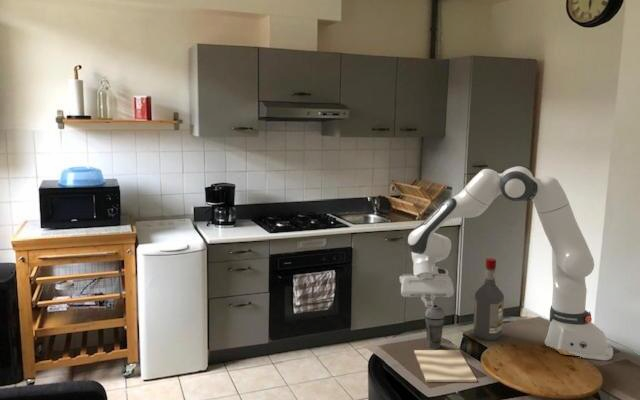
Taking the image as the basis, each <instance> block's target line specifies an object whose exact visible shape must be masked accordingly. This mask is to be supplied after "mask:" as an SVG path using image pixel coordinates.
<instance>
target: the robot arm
mask: <svg viewBox="0 0 640 400" xmlns="http://www.w3.org/2000/svg"><path fill="white" fill-rule="evenodd" d="M499 195H502V196H503V197H504V198H505V199H507V200H509V201H513V202H523V201H524V202H525V201H527V202H528V201H531V202H532V204H533V205H534V207H535V211H536V213H537V216H538V218H539V221H540V223H541V227H542V229H543V231H544V234H545V236H546V238H547V240H548V242H549V244H550V246H551V266H552V267H551V271H552V273H551V274H552V299H551V306H550V309H549V327H548V332H547V335H546V337H545V340H544V344H545V345H546V346H547V347H548V346H550V347H554V348H556V349H561V350H564V351H567V352H569V353H572V354H575V355H577V356H580V357H579V358H581V357H582V358H583V359H589V360H591V359H592V360H599V361H609V360H611V359H612V358H613V356H614V349H613V347H612V346H611V345H610V344H608V343H607V342H608V341H607V336H606V334H605V332H604V331H603V330H601V328H599V327H598V326H597V325H595V324H594V323H593V322H592V320H593V319H592V318H593V317H592V312H591V311H588V310H586V303H587V293H588V292H587V285H586V277H588V276H589V275H591V274H592V272H594V268H595V261H594V258H593V257H594V256H593V254H592V252H591V250H590V248H589V246H588V243H587V241H586V239H585V236H584V235H583V233H582V231H581V229H580V227H579V224H578V221H577V219H576V217H575V215H574V211H573V210H572V207H571V204H570V202H569V198H568V196H567V194H566V192H565V190H564V189H563V186H562V185H561V183H560V182H559V181H558V179H557V178H556V177H552V176H544V177H541V178H538V177H535V175H534V173H533V171H532V170H531V169H530V168H529V167H527V166H525V165H522V164H521V165H520V164H518V165H512V166H510V167H508V168H505V169H502V170H501V171H500V172H497V171H496V170H493V169H492V168H483V169H482V170H480V171H479V172H478V173H477V174H476V175H475V176H473V178H472V179H470V181H469V182H468V183H467V184H466V185H465V187H464V188H462V190H461V191H460V192H459V193H458V194H456V195H455V196H452V197H451V198H450V197H449V198H447V199H446V200H444V201H442V203H441V204H440V205H439V206H438V207H436V208H435V210H434V211H432V213H430V215H428V216H427V218H426V219H425V220H423V222H421V224H419V225H418V226H417V227H415V228H413V230H411V231H410V232H409V234H408V236H407V246H408V248H409V249H410V251H411V259H412V263H413V265H412V268H413V273H403V274H400V276H399V280H398V281H399V283H400V285H401V287H400V295H401V296H402V297H403V298H420V299H421V301H422V302H423V303H424V307H425V308H428V307H430V306H432V296H431V294H433V302H434V300H435V298H451V297H453V295H454V294H455V288H454V284H453V281H452V278H451V277H450V276H449V270H448V269H446V268H443V267H438V266H436V263H440V262H443V261H444V260H446V259H448V258H449V257H451V254H452V252H453V242H452V241H451V239H450V238H449V237H447V236H444V235H442V234H440V233H436V231H437V230H438V229H440V227H441V226H442V225H443V224H445V223H446V222H447V221H449V220H451V219H452V220H453V219H457V218H460V219H461V218H463V219H464V218H465V219H466V218H468V219H470V218H471V219H472V218H476V217H479V216H481V215H482V214H483V213H484V212H485V211H486V210H487V209H488V208H489V206H491V204H492V203H493V201H494V200H495V199H496V198H498V196H499ZM426 298H430V300H427V299H426Z"/></svg>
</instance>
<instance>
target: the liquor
mask: <svg viewBox="0 0 640 400" xmlns="http://www.w3.org/2000/svg"><path fill="white" fill-rule="evenodd" d="M496 267H497V259H495V258H486V259H485V278H484V279H485V280H484V282H483V283H484V284H482V285H481V286H480V288H478V289H477V290H476V291H475V294H474V310H473V311H474V312H473V334H474V335H475V337H477V338H480V339H484V340H486V341H497V340H498V339H499V338H500V337H502V334H503V322H504V321H503V320H504V302H505V301H504V300H505V297H504V295H505V294H504V293H503V292H502V290H501V289H500V288H499V287H498V286H497V285H496V269H497V268H496Z"/></svg>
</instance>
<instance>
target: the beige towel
mask: <svg viewBox="0 0 640 400" xmlns="http://www.w3.org/2000/svg"><path fill="white" fill-rule="evenodd" d="M413 352H414V354H415V357H416V361H417V362H418V365H419V368H420V370H421V372H422V375H423V377H424V380H425V382H426V383H455V382H456V383H477V380H478V379H477V378H476V376H475V374H474V372H473V371H472V369H471V368H470V366H469V363H468V362H467V361H466V359H465V357H464V355H463V354H462V352H461V350H460V349H423V350H422V349H414V350H413Z"/></svg>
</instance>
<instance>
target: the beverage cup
mask: <svg viewBox="0 0 640 400" xmlns="http://www.w3.org/2000/svg"><path fill="white" fill-rule="evenodd" d="M431 296H432V299H431V300H432V306H430V307H426V310H425V313H424V320H425V328H426V343H427V347H428V348H430V349H431V350H439V349H440V348H441V343H442V335H443V330H444V322H445V318H446V315H445V311H444V310H443V308H442V307H441V306H440V305H437V304H434V301H433V294H431Z"/></svg>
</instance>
